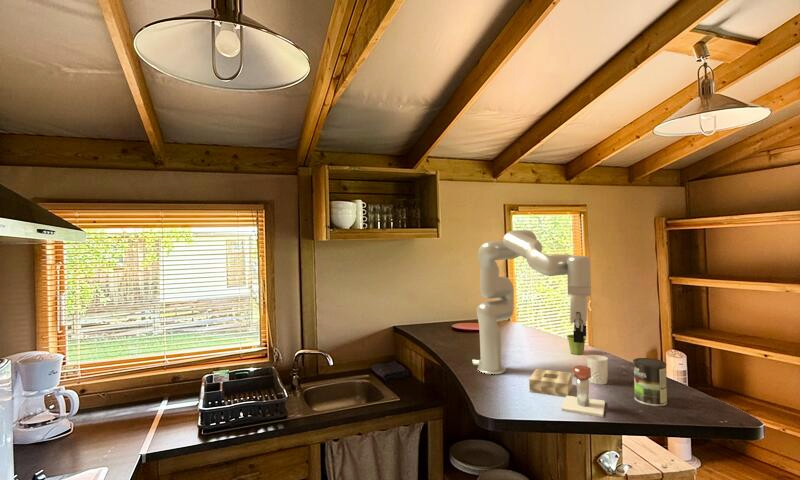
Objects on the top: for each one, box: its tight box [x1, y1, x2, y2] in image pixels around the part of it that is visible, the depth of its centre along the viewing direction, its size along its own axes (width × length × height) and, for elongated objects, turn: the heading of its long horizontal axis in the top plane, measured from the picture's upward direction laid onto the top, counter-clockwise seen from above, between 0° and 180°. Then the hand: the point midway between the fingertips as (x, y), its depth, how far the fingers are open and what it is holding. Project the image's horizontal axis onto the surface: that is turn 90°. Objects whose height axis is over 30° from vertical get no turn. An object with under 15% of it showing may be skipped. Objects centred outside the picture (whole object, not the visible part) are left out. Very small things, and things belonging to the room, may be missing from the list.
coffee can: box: [632, 357, 668, 407], centre depth 150 cm, size 10×10×14 cm
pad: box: [560, 395, 606, 418], centre depth 147 cm, size 13×13×1 cm
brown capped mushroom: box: [573, 365, 591, 407], centre depth 147 cm, size 6×6×13 cm
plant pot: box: [566, 334, 587, 356], centre depth 213 cm, size 9×9×9 cm
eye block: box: [528, 368, 573, 398], centre depth 166 cm, size 14×14×5 cm
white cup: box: [586, 354, 609, 386], centre depth 171 cm, size 8×8×10 cm
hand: (580, 339), depth 147 cm, fingers open, 9 cm apart
